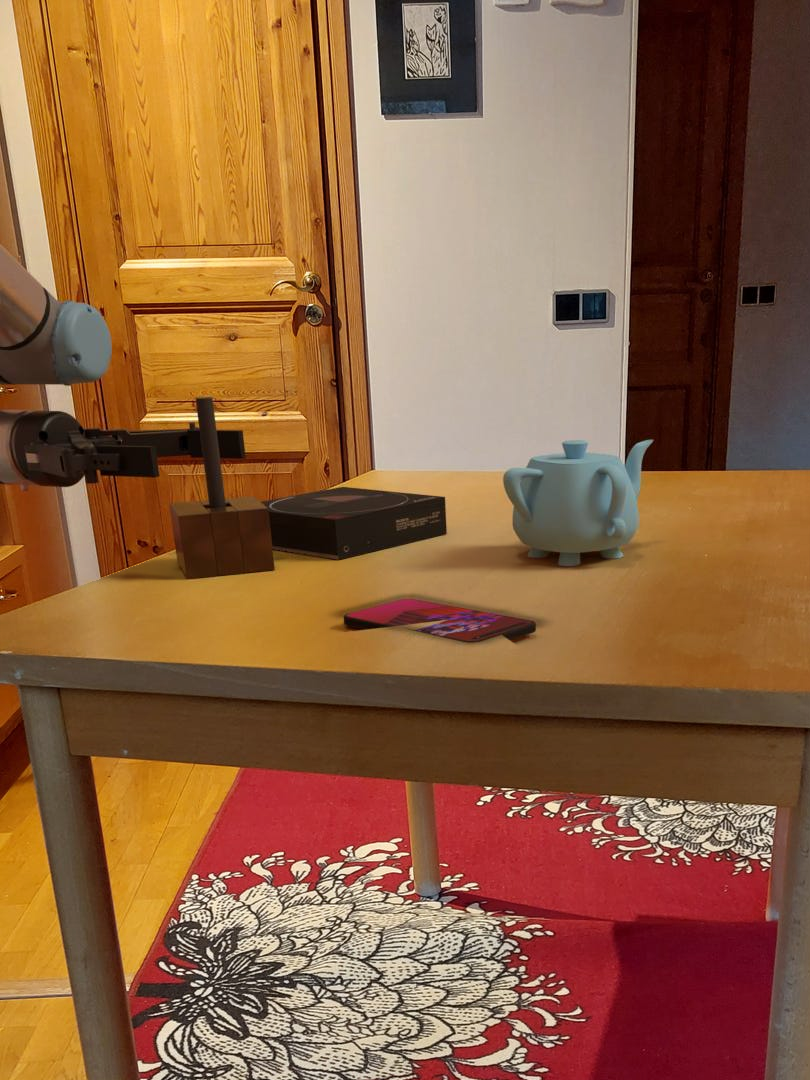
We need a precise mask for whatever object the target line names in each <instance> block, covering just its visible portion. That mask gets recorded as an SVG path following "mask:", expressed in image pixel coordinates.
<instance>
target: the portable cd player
mask: <svg viewBox="0 0 810 1080" xmlns="http://www.w3.org/2000/svg"><path fill="white" fill-rule="evenodd" d="M260 502H261V503H262V504H263V505H265V506H266V507H267V508H268V512H269V521H270V530H271V539H272V549H274V550H273V551H278V550H280V551H279V552H285V551H287V552H286V553H291V552H293V553H292V554H298V553H299V554H298V555H304V554H306V555H305V556H311V557H317V558H323V559H324V558H325V559H330V560H336V561H337V560H338V561H339V560H343V559H348V558H352V557H356V556H360V555H365V554H369V553H372V552H377V551H381V550H384V549H389V548H394V547H398V546H403V545H406V544H411V543H414V542H418V541H423V540H427V539H432V538H436V537H439V536H440V537H441V536H443V535H448V534H447V533H448V532H447V531H448V530H447V509H446V507H447V506H446V496H441V495H431V494H420V493H410V492H409V493H408V492H402V491H401V492H400V491H399V492H398V491H389V490H380V489H369V488H358V487H350V486H340V487H333V488H329V489H328V488H327V489H323V490H317V491H313V492H307V493H301V494H295V495H290V496H285V497H284V496H283V497H280V498H273V499H268V500H263V501H260Z"/></svg>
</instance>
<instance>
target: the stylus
mask: <svg viewBox="0 0 810 1080" xmlns="http://www.w3.org/2000/svg"><path fill="white" fill-rule="evenodd" d="M195 405H196V406H195V407H196V413H197V422H198V428H199V430H200V438H201V446H202V453H203V458H202V460H203V468H204V475H205V483H206V491H207V500H209V507H210V508H220V507H226V503H225V499H226V496H225V488H224V481H223V471H222V464H221V458H220V454H219V446H218V438H217V430H218V429H217V421H216V415H215V408H214V399H213V397H212V396H201V397H195Z"/></svg>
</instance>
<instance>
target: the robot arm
mask: <svg viewBox="0 0 810 1080" xmlns="http://www.w3.org/2000/svg"><path fill="white" fill-rule="evenodd" d="M112 354H113V343H112V337H111V333H110V330H109V327H108V325H107V322H106V321H105V319H104V316H102V314H101V313H100V312H99V310H98V309H96V308H95V307H94V306H92V305H90V304H88V303H85V302H76V301H74V300H70V299H68V300H65V301H64V302H63V301H59V300H58V299H56V298H55V296H53V295H52V293H51V292H50V291H48V290H47V289H46V288H45V287H44V286H43V285H42V284H41V283H40V282H39V280H37V279H36V278H35V277H34V276H33V274H31V273H30V272H29V271H28V270H27V269H26V268H25V267H24V266H23V265H22V264H21V263H20V262H19V261H18V260H17V259H16V258H15V257H14V255H12V254H11V253H10V252H9V251H8V250H7V249H6V248H5V247H4V246H3V245H2V244H1V243H0V386H5V385H9V386H11V385H13V386H15V385H45V386H46V385H54V386H55V385H59V386H61V385H62V386H64V387H65V386H67V387H70V386H72V385H76V384H88V383H94V382H97V381H99V380H100V379H102V378H103V377H104V376H105V375H106V373H107V371H108V370H109V368H110V364H111V358H112ZM188 427H189V428H167V429H165V428H163V429H137V430H128V429H126V428H115V429H114V428H113V429H102V428H100V427H89V428H84V427H83V426H82V425H81V423H80V421H78V420H77V419H76V418H75V417H74V416H73V415H72V414H70V413H68V412H65V411H63V410H33V409H32V410H31V409H0V485H7V486H8V485H14V486H15V485H19V487H20V489H21V491H23V492H28V491H29V490H30V489H31V486H40V487H51V488H52V487H53V488H70V487H73V486H75V485H77V484H78V483H79V482H81V480H83V478H84V481H85V484H88V485H91V484H92V485H93V484H98V483H99V482H100V480H99V474H98V471H99V473H100V476H102V477H123V478H124V477H127V478H153V479H154V478H158V477H159V478H160V475H161V474H160V469H159V463H158V458H169V457H170V458H171V457H184V456H186V457H187V456H190V458H192V459H203V453H202V446H201V438H200V430H199V426H196V422H194V421H192V422H191V421H190V422H188ZM216 430H217V438H218V446H219V454H220V459H228V460H229V459H230V460H231V459H232V460H243V459H247V457H246V448H245V447H246V446H245V438H244V430H242V429H240V430H239V429H216Z"/></svg>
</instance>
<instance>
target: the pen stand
mask: <svg viewBox="0 0 810 1080" xmlns="http://www.w3.org/2000/svg"><path fill="white" fill-rule="evenodd" d="M261 502H262V501H260V500H259V499H258V498H257V497H255V496H254V495H251V496H239V497H228V498H225V503H226V507H220V508H210V507H209V500H208V499H203V500H193V501H181V502H170V503H169V504H168V505H169V512H170V519H171V527H172V533H173V541H174V548H175V552H176V560H177V561H176V562H177V564H178V566H179V567H180V569H181V571H182V573H183V574H184V576H185V578H186V579H187V580H191V579H199V578H200V579H201V578H210V577H212V578H213V577H222V576H232V575H239V574H238V573H242V574H248V573H247V572H251V573H258V572H257V571H261V572H268V571H267V570H271V571H275V568H276V567H275V559H274V558H275V557H274V550H273V549H272V539H271V530H270V521H269V512H268V508H267V507H266V506H265V505H263V504H262V503H261ZM231 574H232V575H231Z"/></svg>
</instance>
